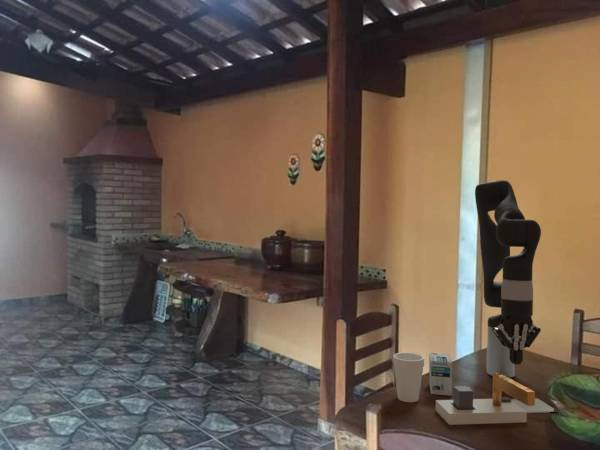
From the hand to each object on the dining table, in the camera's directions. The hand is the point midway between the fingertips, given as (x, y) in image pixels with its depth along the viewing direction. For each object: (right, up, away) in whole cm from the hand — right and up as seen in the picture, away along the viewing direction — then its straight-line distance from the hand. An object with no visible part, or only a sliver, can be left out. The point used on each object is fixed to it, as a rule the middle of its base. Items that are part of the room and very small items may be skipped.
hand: (515, 363), depth 128 cm
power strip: (-5, -18, +12) cm, 22 cm away
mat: (+13, -18, +20) cm, 30 cm away
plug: (-10, -18, +12) cm, 24 cm away
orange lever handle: (+1, -15, +6) cm, 16 cm away
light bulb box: (-10, -18, +34) cm, 40 cm away
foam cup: (-22, -18, +25) cm, 38 cm away
